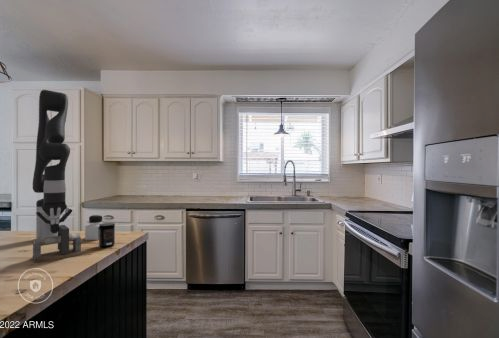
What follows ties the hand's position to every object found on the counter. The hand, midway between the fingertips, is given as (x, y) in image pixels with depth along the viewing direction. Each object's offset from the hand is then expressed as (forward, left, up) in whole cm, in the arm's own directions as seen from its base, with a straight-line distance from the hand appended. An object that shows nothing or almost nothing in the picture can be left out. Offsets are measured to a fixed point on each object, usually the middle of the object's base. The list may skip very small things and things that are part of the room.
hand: (54, 232), depth 118 cm
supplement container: (-3, +21, -10) cm, 24 cm away
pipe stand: (0, +1, -10) cm, 10 cm away
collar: (0, +3, -8) cm, 9 cm away
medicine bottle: (-22, +21, -10) cm, 32 cm away
